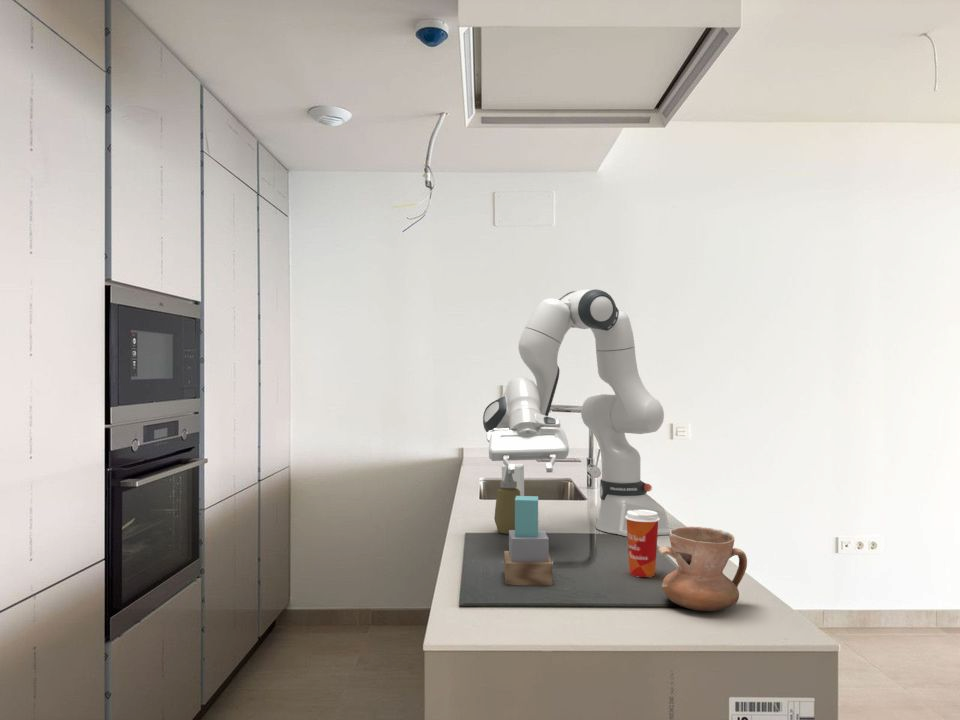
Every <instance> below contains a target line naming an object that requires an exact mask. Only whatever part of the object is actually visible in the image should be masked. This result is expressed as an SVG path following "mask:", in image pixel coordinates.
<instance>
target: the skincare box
mask: <svg viewBox="0 0 960 720" xmlns="http://www.w3.org/2000/svg"><path fill="white" fill-rule="evenodd" d="M513 464H514V474H512V477H513V481H516V482H517V487H516V488H517V489H518V490H519V491H520V496H525V464H524V463H513ZM506 470H507V467H506V466H505V465H504V464H503V465H502V466H501V481H504V479H505V474H506Z"/></svg>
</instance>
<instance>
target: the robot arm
mask: <svg viewBox="0 0 960 720" xmlns="http://www.w3.org/2000/svg"><path fill="white" fill-rule="evenodd" d="M526 323H527V324H526V325H525V327H524V330H523V331H522V333H521V336H520V338H519V341H518V347H517V348H518V352H519V355H520V358H521V359H522V361H523V363H524V364H525V366H526V367H527V368H528V369H529V370H530V371H531V373H532V374H533V376H534V378H535V381H536V383H535V382H534V381H533V380H532V379H529V378H527V377H524V376H518V377H514V378H511V379H510V380H509V381H508V382H507V385H506V388H505V391H504V392H503V394H502V395H501V397H499V398H497V399H496V400H494V401H492V402H491V403H490V404H488V405H487V406H486V408H485V409H484V412H483V417H482V425H483V428H484V430H485V432H486V440H487V442H488V457H489V459H490V460H491V461H492V462H503V463H502V464H503V465H505V466H506V467H507V468H508V474H514V464H515V463H511V462H510V461H531V460H532V461H534V460H537V461H538V460H539V461H540V460H549V462H546V464H545V471H546V473H553V471H554V470H553V469H554V467H553V466H554V465H555V463H556V460H565V459H566V458H568V456H569V452H570V450H569V449H570V448H569V447H570V446H569V442H568V439H567V434H566V433H565V431H564V429H563V428H561V420H560V419H559V418H557V417H552V416H549V414H550V411H551V407H552V404H553V401H554V397H555V393H556V389H557V385H558V381H559V379H560V373H561V372H560V371H561V370H560V367H559V365H558V355H559V350H560V348H561V346H562V343H563V341H564V338H565V335H566V334H567V332H568V331H569V330H570V329H572V328H573V329H575V328H576V329H583V330H586V329H587V330H588V329H590V330H591V332H592V333H593V336H594V339H595V341H594V342H595V352H596V353H595V354H596V363H597V365H596V366H597V373H598V377H599V378H600V379H601V380H602V381H603V382H604V383H606V384H608V386H610V387H611V389H612V391H613V392H614V394H604V393H603V394H602V393H601V394H598V395H593V396H589V397H587V398H586V399H585V400H584V401H583V404H582V406H581V409H580V416H581V419H582V422H583V424H584V425H585V426H586V427H587V428H588V429H589V430H590V431H591V432H592V434H593V435H594V437H595V439H596V441H597V444H598V446H599V450H600V451H599V452H600V457H601V459H600V460H601V478H600V482H599V483H600V484H599V498H600V504H599V505H600V506H599V513H598V517H597V518H598V519H597V522H596V525H595V528H596V529H597V530H599V531H601V532H606V533H609V534H615V535H616V534H617V535H619V536H624V537H627V519H626V518H625V516H626V515H627V512H628V511H629V510H631V511H632V510H650V511H654V512H657V513H658V517H659V518H660V520H659V521H658V534H657V536H662V535H663V536H666V535H669V532H670V530H671V529H673V528H676V527H675V526H674V525H673V524H672V523H670V522H669V519H668V515H667V512H666V509H665V508H664V507H663V506H662V505H661V504H660V503H658V502H657V501H656V500H655V499H654V498H652V497H651V496H650V495H649V494H647V493H648V492H651V491H652V489H653V487H652V484H650V483H646V482H645V481H643V480H641V455H640V452H639V451H638V450H637V449H636V448H635V447H633V446H632V445H631V444H630V442H628V440H627V438H626V434H633V435H643V434H651V433H655V432H658V430H659V429H660V428H661V427H662V425H663V423H664V419H665V412H664V408H663V405H662V404H661V402H660V401H659V400H658V399H656V397H654V396H653V395H652V394H651V393H650V392H649V391H648V390H647V388H646V386H645V385H644V383H643V382H642V379H641V377H640V374H639V369H638V364H637V363H638V362H637V357H636V346H635V339H634V333H633V332H634V331H633V327H632V325H631V321H630V317H629V315H628V314H627V313H626V312H624V311H622V310H619V309H618V307H617V305H616V303H615V300H614V299H613V297H612V296H611V295H610V294H609V293H608V292H606V291H605V290H601V289H597V288H596V289H591V288H590V289H589V288H587V289H586V288H585V289H579V290H574V291H573V290H572V291H570V292H567V293H566V294H564V295H562V297H560V298H558V299H557V298H553V297H551V298H550V297H549V298H545V299H543V300H542V301H540V302H539V303H538V305H537V307H536V308H535V309H534V311H533V313H532V314H531V316H530V317H529V320H528V322H526Z"/></svg>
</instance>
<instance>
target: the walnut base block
mask: <svg viewBox="0 0 960 720" xmlns="http://www.w3.org/2000/svg"><path fill="white" fill-rule="evenodd" d="M503 557H504V558H503V573H504V574H505V575H504V574H503V575H504V581H505V582H506V583H505V585H506V584H520V585H519V586H541V585H547V586H548V585H549V586H551V587H552V586H553V561H552V558H551V556H550V555H549V562H512V561H511V558H510V554H509V550H503ZM547 586H546V587H547ZM549 586H548V587H549Z"/></svg>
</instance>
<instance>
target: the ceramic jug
mask: <svg viewBox="0 0 960 720" xmlns="http://www.w3.org/2000/svg"><path fill="white" fill-rule="evenodd" d="M668 535H669V541H670V546H671V547H670V546H669V547H668V546H661V547H660V548H658V553H659V555H660V556H667V555H668V556H670V557H672V558H673V559H675V561H676V564H677V566H678V568H676V569H675V570H673V571H671V572H670V573H668V574H666V575H665V577H664V578H663V580H662V583H661V590H662V592H663V594H664V596H665V597H666V598H667V599H668V600H669V601H671V602H672V603H673V604H675V605H677V606H680V607H682V608H686V609H688V610H693V611H698V612H718V611H719V612H720V611H723V610H727V609H728V608H731V607H732V606H735V605H736V604H737V602H738V600H739V597H740V592H739V591H740V590H739V589H738V586H739V585H740V583H741V582H742V580H743V578H744V576H745V573H746V570H747V567H748V558H747V555H746V553H745V552H744V550H742V549H740V548H737V547H734V545H735V536H734V534H732V533H730V532H728V531H724V530H722V529H718V528H712V527H703V526H691V525H690V526H681V527H680V526H679V527H675V528H673V529H671V530H670V532H669V534H668ZM734 556H737V557H738V567H737V570H736V572H735V575H734V577H733V579H730V578H729V577H728V576H726V574H724V573H723V571H724V569H725V567H726V566H727V563H728V561H729V559H731V558H732V557H734Z"/></svg>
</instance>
